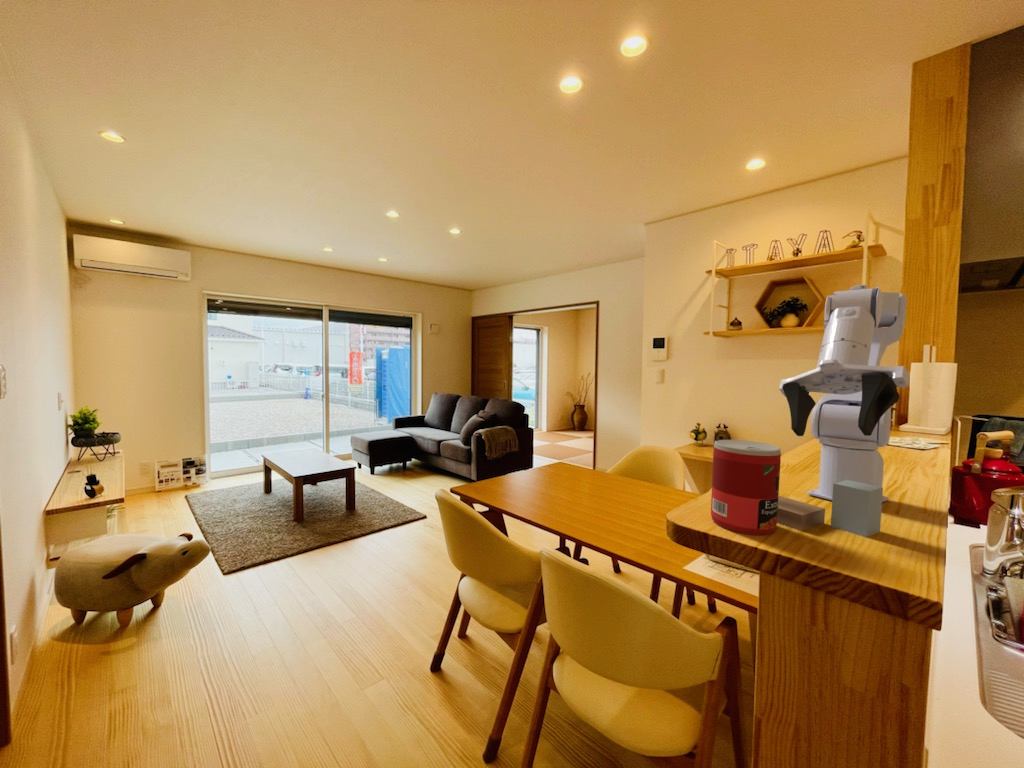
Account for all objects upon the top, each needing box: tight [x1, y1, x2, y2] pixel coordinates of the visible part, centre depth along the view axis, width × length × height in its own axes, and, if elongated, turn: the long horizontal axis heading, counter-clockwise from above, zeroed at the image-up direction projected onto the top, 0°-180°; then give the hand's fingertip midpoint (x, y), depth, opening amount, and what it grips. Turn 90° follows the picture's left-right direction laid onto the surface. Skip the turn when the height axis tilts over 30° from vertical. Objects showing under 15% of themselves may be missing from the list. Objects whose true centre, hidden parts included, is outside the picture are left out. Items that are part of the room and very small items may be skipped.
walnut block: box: [777, 495, 826, 532], centre depth 60 cm, size 6×6×2 cm
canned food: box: [710, 439, 782, 536], centre depth 58 cm, size 8×8×11 cm
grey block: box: [830, 480, 884, 538], centre depth 57 cm, size 4×4×6 cm
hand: (828, 431), depth 56 cm, fingers open, 7 cm apart
